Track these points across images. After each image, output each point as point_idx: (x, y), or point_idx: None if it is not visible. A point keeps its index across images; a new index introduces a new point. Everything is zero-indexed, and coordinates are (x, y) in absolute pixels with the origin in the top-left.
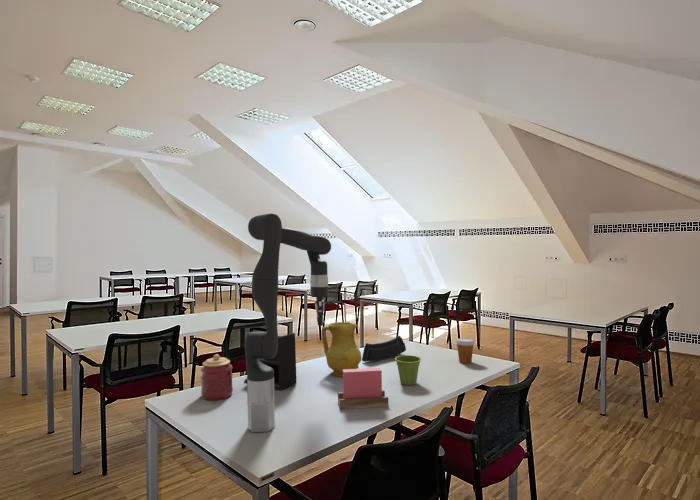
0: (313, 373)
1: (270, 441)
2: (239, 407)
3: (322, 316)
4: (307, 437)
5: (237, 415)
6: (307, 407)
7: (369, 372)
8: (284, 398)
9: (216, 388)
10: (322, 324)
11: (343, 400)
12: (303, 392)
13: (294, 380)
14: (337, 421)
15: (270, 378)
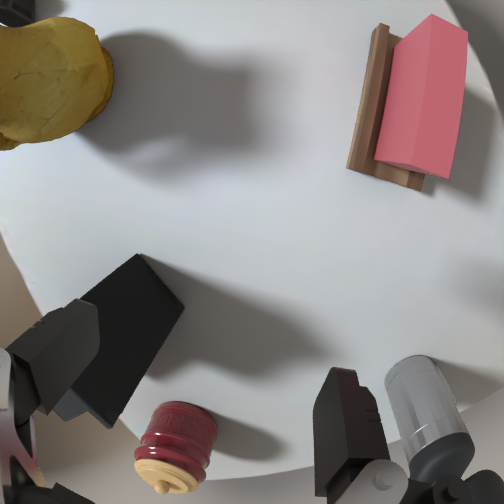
0: (58, 181)
1: (469, 362)
2: (279, 403)
3: (382, 466)
4: (495, 304)
5: None
6: (357, 269)
7: (463, 75)
8: (256, 312)
9: (212, 446)
10: (353, 379)
11: (422, 179)
12: (221, 250)
13: (138, 265)
14: (471, 223)
15: (470, 437)
